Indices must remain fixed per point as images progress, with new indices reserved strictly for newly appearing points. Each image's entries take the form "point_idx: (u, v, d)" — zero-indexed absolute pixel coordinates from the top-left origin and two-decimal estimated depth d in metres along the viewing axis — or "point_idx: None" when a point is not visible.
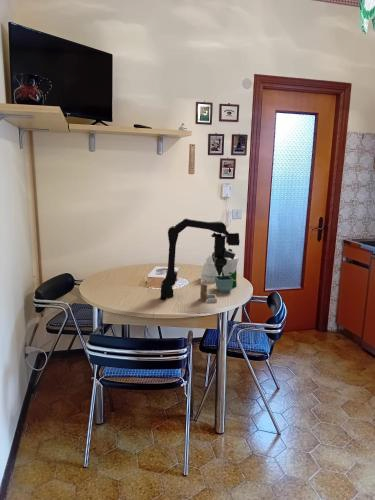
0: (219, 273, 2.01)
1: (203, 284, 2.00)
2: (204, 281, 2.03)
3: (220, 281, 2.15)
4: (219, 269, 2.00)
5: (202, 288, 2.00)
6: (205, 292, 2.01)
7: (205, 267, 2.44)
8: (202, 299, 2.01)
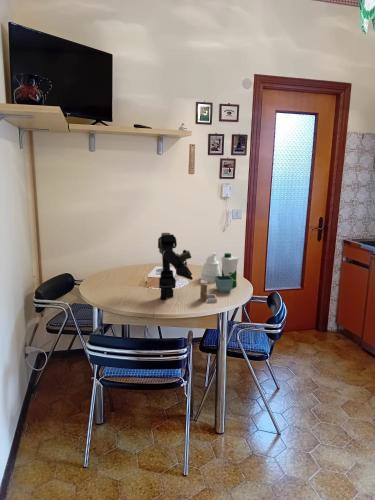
0: (191, 278, 1.97)
1: (203, 284, 2.00)
2: (204, 281, 2.03)
3: (220, 281, 2.15)
4: (186, 275, 1.96)
5: (202, 288, 2.00)
6: (205, 292, 2.01)
7: (205, 267, 2.44)
8: (202, 299, 2.01)
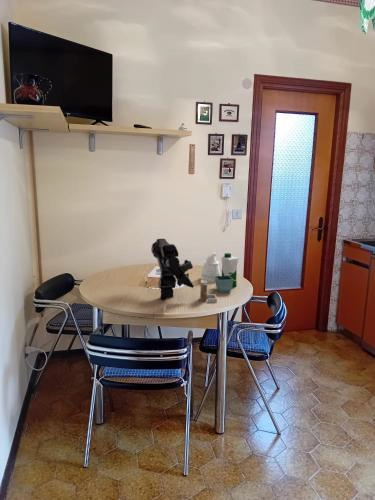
0: (192, 286, 2.02)
1: (203, 284, 2.00)
2: (204, 281, 2.03)
3: (220, 281, 2.15)
4: (187, 283, 2.01)
5: (202, 288, 2.00)
6: (205, 292, 2.01)
7: (205, 267, 2.44)
8: (202, 299, 2.01)
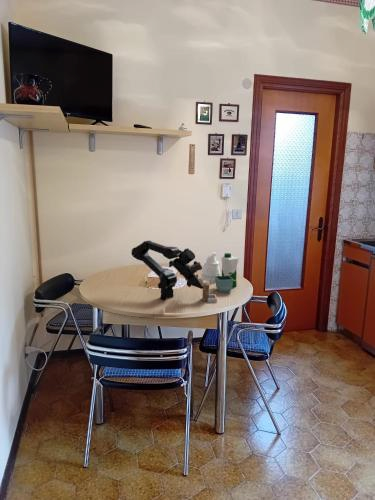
0: (201, 287, 2.02)
1: (205, 284, 2.00)
2: (206, 281, 2.03)
3: (220, 281, 2.15)
4: (197, 284, 2.01)
5: (204, 288, 2.00)
6: (207, 292, 2.01)
7: (205, 267, 2.44)
8: (204, 299, 2.01)
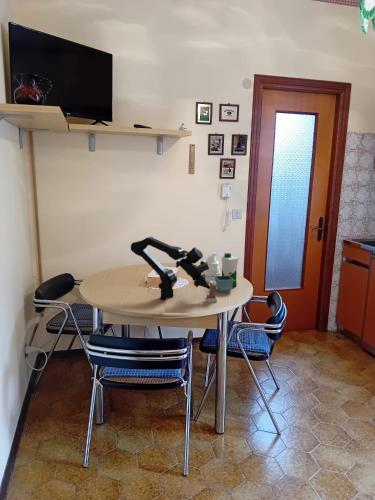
0: (208, 287, 2.02)
1: (213, 284, 2.00)
2: (213, 281, 2.03)
3: (220, 281, 2.15)
4: (204, 284, 2.01)
5: (211, 288, 2.00)
6: (214, 292, 2.01)
7: None
8: None
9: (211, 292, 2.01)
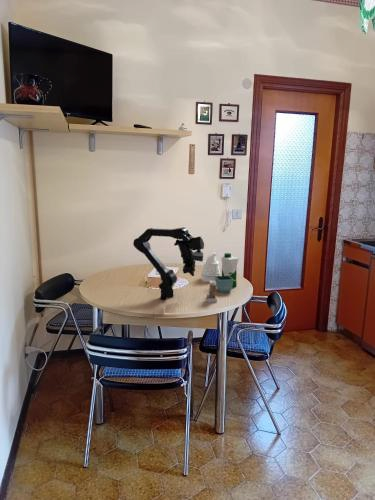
0: (192, 274, 2.06)
1: (212, 284, 2.00)
2: (213, 281, 2.03)
3: (220, 281, 2.15)
4: None
5: (211, 288, 2.00)
6: (214, 292, 2.01)
7: (205, 267, 2.44)
8: None
9: (211, 292, 2.01)
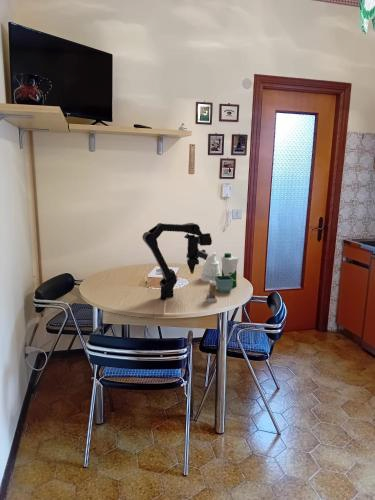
0: (192, 271, 2.11)
1: (212, 284, 2.00)
2: (213, 281, 2.03)
3: (220, 281, 2.15)
4: (191, 267, 2.09)
5: (211, 288, 2.00)
6: (214, 292, 2.01)
7: (205, 267, 2.44)
8: None
9: (211, 292, 2.01)
